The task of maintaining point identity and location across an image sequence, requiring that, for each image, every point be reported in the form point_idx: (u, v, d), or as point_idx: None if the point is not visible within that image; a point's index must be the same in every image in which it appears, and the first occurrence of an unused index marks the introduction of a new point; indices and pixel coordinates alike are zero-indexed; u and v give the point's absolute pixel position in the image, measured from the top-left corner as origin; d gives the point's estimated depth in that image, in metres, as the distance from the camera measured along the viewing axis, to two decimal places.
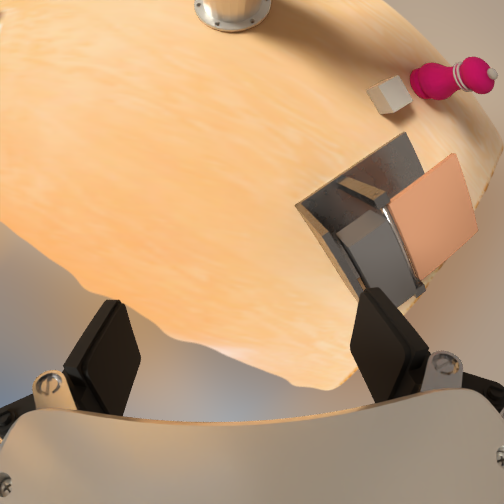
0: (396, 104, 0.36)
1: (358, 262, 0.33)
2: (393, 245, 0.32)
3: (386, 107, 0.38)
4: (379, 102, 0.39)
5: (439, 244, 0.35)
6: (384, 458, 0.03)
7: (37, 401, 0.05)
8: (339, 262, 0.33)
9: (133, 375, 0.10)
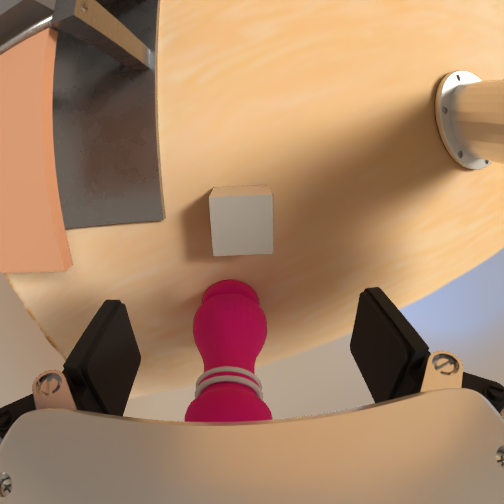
0: (221, 213, 0.22)
1: None
2: None
3: (223, 193, 0.23)
4: (236, 189, 0.24)
5: None
6: (384, 458, 0.03)
7: (37, 401, 0.05)
8: None
9: (133, 375, 0.10)
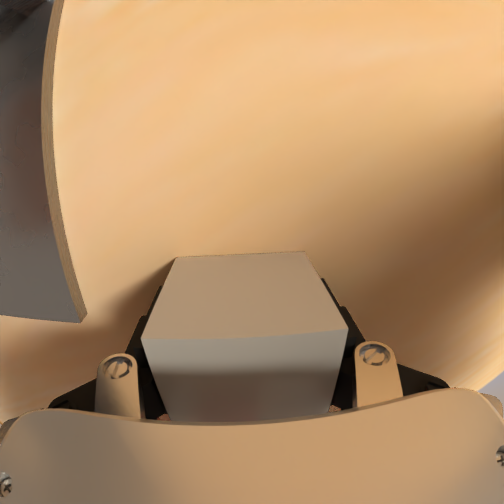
0: (186, 377, 0.07)
1: None
2: None
3: (191, 309, 0.07)
4: (230, 280, 0.09)
5: None
6: (384, 458, 0.03)
7: (99, 382, 0.06)
8: None
9: None
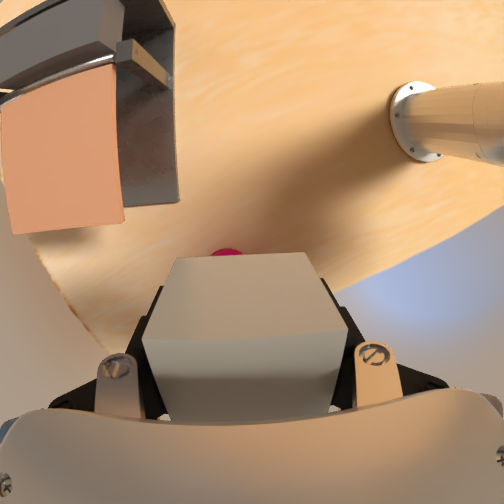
0: (187, 377, 0.07)
1: None
2: (63, 46, 0.14)
3: (192, 310, 0.07)
4: (230, 281, 0.09)
5: (22, 146, 0.18)
6: (383, 458, 0.03)
7: (99, 382, 0.06)
8: None
9: None
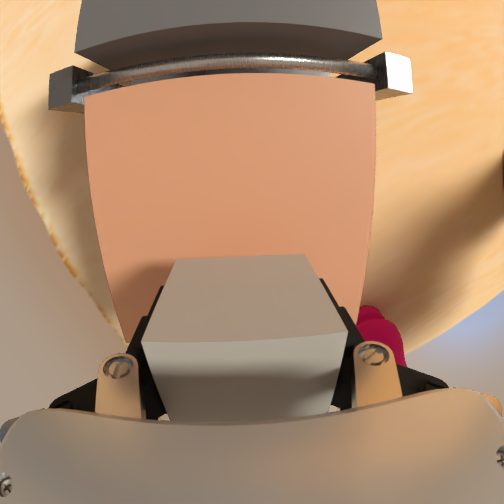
0: (186, 379, 0.07)
1: None
2: (303, 11, 0.08)
3: (191, 313, 0.07)
4: (230, 283, 0.09)
5: (155, 192, 0.12)
6: (384, 458, 0.03)
7: (100, 382, 0.06)
8: None
9: None
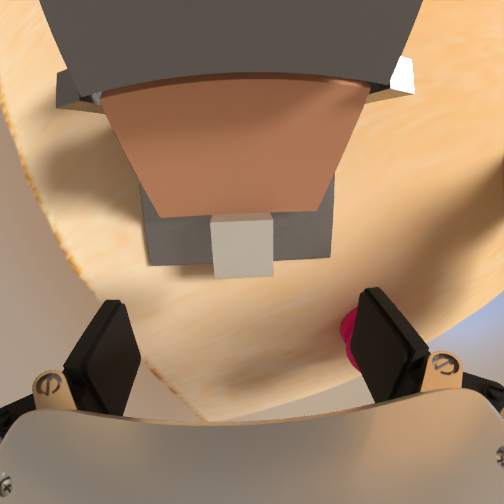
0: None
1: None
2: (314, 61, 0.09)
3: (226, 265, 0.24)
4: (238, 246, 0.23)
5: (178, 151, 0.16)
6: (383, 458, 0.03)
7: (37, 401, 0.05)
8: None
9: (133, 375, 0.10)
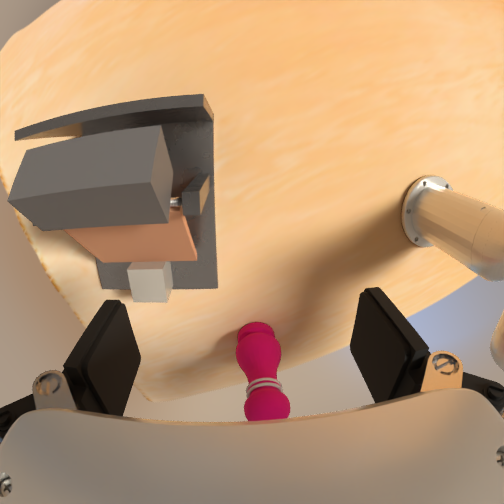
0: None
1: (115, 186, 0.16)
2: (126, 221, 0.21)
3: (139, 294, 0.36)
4: (144, 284, 0.36)
5: (98, 238, 0.29)
6: (384, 458, 0.03)
7: (37, 401, 0.05)
8: (149, 100, 0.19)
9: (133, 375, 0.10)
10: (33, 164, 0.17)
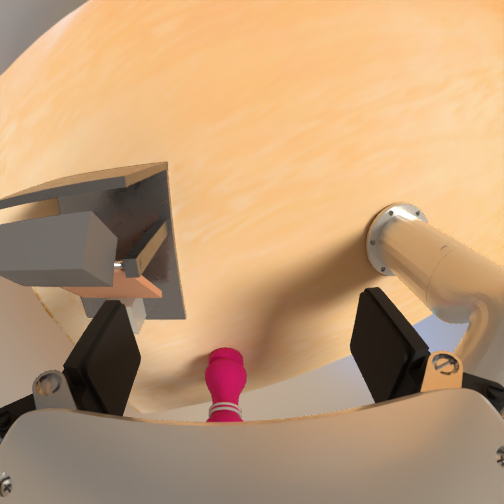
0: None
1: (60, 269, 0.19)
2: (80, 285, 0.24)
3: None
4: None
5: None
6: (383, 458, 0.03)
7: (37, 401, 0.05)
8: (84, 183, 0.21)
9: (133, 375, 0.10)
10: (5, 240, 0.20)
